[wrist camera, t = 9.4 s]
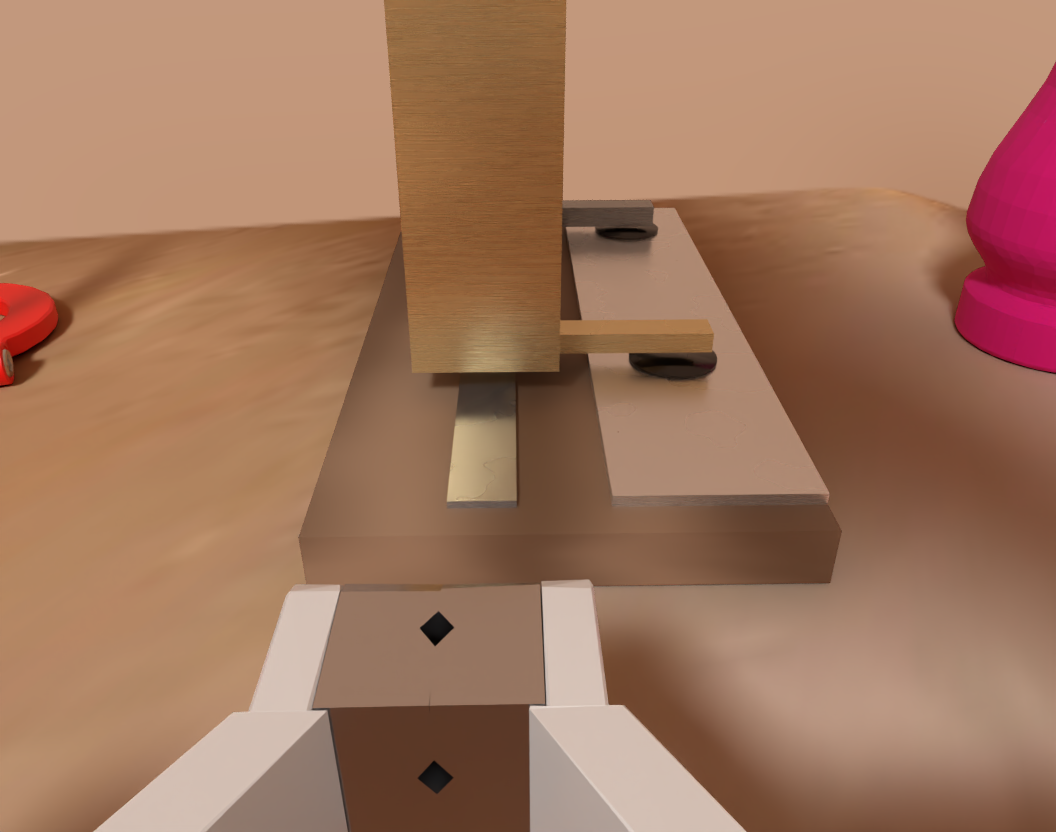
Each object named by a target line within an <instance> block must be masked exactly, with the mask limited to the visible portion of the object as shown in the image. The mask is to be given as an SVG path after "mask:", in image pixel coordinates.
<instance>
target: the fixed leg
mask: <svg viewBox="0 0 1056 832" xmlns="http://www.w3.org/2000/svg"><path fill="white" fill-rule="evenodd" d="M653 214H654V206H653V204H652V202H651V200H580V201H562V227H638V226H653Z"/></svg>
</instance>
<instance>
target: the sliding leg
mask: <svg viewBox="0 0 1056 832" xmlns="http://www.w3.org/2000/svg"><path fill="white" fill-rule="evenodd" d="M384 6H385V20H386V33H387V46H388V58H389V71H390V85H391V97H392V111H393V125H394V138H395V150H396V164H397V175H398V190H399V202H400V216H401V230H402V243H403V256H404V269H405V282H406V295H407V308H408V321H409V335H410V348H411V361H412V373H453V372H559V359H560V354H590V353H702V352H712V347H713V339H714V332H713V330H712V328H711V326H710V324H709V322H708V320H707V319H679V320H560V306H561V253H562V200H563V197H562V196H563V145H564V142H563V141H564V91H565V41H566V38H565V37H566V0H384Z"/></svg>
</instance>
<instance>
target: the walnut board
mask: <svg viewBox="0 0 1056 832" xmlns="http://www.w3.org/2000/svg"><path fill="white" fill-rule="evenodd" d="M560 320H580V315H579V309H578V303H577V297H576V291H575V285H574V279H573V273H572V267H571V261H570V256H569V250H568V244H567V238H566V232H565V227H562V253H561V306H560ZM459 382H460V372H453V373H412V361H411V348H410V335H409V321H408V308H407V295H406V282H405V269H404V256H403V243H402V230H401V233H400V236H399V239H398V242H397V245H396V248H395V251H394V254H393V257H392V260H391V263H390V266H389V269H388V272H387V275H386V278H385V281H384V284H383V287H382V290H381V293H380V296H379V299H378V302H377V305H376V308H375V310H374V313H373V316H372V319H371V322H370V325H369V328H368V331H367V334H366V337H365V340H364V343H363V346H362V349H361V352H360V355H359V358H358V361H357V364H356V367H355V370H354V373H353V376H352V379H351V382H350V385H349V388H348V391H347V394H346V397H345V400H344V403H343V406H342V409H341V412H340V415H339V418H338V421H337V424H336V427H335V430H334V433H333V436H332V439H331V442H330V445H329V448H328V451H327V454H326V457H325V460H324V463H323V466H322V469H321V472H320V475H319V478H318V481H317V484H316V487H315V490H314V493H313V496H312V499H311V502H310V505H309V508H308V511H307V514H306V517H305V520H304V523H303V526H302V529H301V532H300V535H299V543H300V549H301V555H302V561H303V566H304V572H305V578H306V584H317V585H345V584H482V583H525V582H539V583H540V585H541V581H559V580H586V579H589V580H590V582H591V583H592V584H593V586H617V585H696V584H774V583H830V581H831V576H832V572H833V567H834V563H835V558H836V554H837V549H838V545H839V541H840V536H841V532H842V530H841V529H840V527H839V525H838V523H837V521H836V519H835V517H834V515H833V514H832V512H831V510H830V508H829V506H828V504H803V505H715V506H628V507H612V503H611V498H610V492H609V486H608V480H607V474H606V468H605V462H604V456H603V450H602V444H601V439H600V433H599V427H598V421H597V415H596V409H595V403H594V397H593V391H592V385H591V379H590V374H589V368H588V362H587V356H586V354H560V359H559V372H515V395H516V486H517V508H453V509H447V495H448V485H449V476H450V467H451V457H452V448H453V438H454V429H455V420H456V410H457V401H458V391H459Z"/></svg>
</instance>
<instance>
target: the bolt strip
mask: <svg viewBox="0 0 1056 832" xmlns="http://www.w3.org/2000/svg"><path fill="white" fill-rule="evenodd" d="M565 232H566V238H567V244H568V250H569V256H570V261H571V267H572V273H573V279H574V285H575V291H576V297H577V303H578V309H579V315H580V320H679V319H707V320H708V322H709V324H710V326H711V328H712V330H713V332H714V339H713V347H712V352H702V353H590V354H586V356H587V362H588V368H589V374H590V379H591V385H592V391H593V397H594V403H595V409H596V415H597V421H598V427H599V433H600V439H601V444H602V450H603V456H604V462H605V468H606V474H607V480H608V486H609V492H610V498H611V503H612V507H628V506H715V505H803V504H828V500H829V495H830V493H829V491H828V489H827V488H826V486H825V484H824V482H823V480H822V478H821V476H820V475H819V473H818V471H817V469H816V467H815V465H814V464H813V462H812V460H811V458H810V456H809V454H808V453H807V451H806V449H805V447H804V445H803V443H802V442H801V440H800V438H799V436H798V434H797V432H796V430H795V429H794V427H793V425H792V423H791V421H790V419H789V418H788V416H787V414H786V412H785V410H784V408H783V407H782V405H781V403H780V401H779V399H778V397H777V395H776V394H775V392H774V390H773V388H772V386H771V384H770V383H769V381H768V379H767V377H766V375H765V373H764V372H763V370H762V368H761V366H760V364H759V362H758V361H757V359H756V357H755V355H754V353H753V351H752V349H751V348H750V346H749V344H748V342H747V340H746V338H745V337H744V335H743V333H742V331H741V329H740V327H739V326H738V324H737V322H736V320H735V318H734V316H733V314H732V313H731V311H730V309H729V307H728V305H727V303H726V302H725V300H724V298H723V296H722V294H721V292H720V291H719V289H718V287H717V285H716V283H715V281H714V280H713V278H712V276H711V274H710V272H709V270H708V268H707V267H706V265H705V263H704V261H703V259H702V257H701V256H700V254H699V252H698V250H697V248H696V246H695V245H694V243H693V241H692V239H691V237H690V235H689V233H688V232H687V230H686V228H685V226H684V224H683V222H682V221H681V219H680V217H679V215H678V213H677V211H676V210H675V208H654V214H653V226H638V227H565ZM453 508H517V486H516V395H515V372H460V382H459V391H458V401H457V410H456V420H455V429H454V438H453V448H452V457H451V467H450V476H449V485H448V495H447V509H453Z"/></svg>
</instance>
